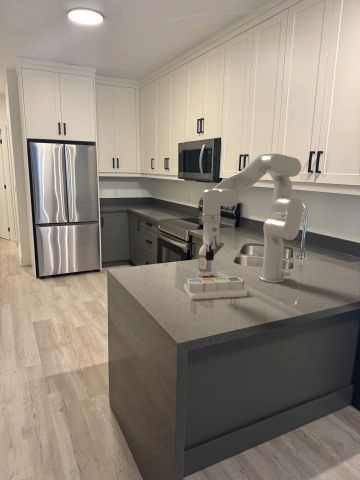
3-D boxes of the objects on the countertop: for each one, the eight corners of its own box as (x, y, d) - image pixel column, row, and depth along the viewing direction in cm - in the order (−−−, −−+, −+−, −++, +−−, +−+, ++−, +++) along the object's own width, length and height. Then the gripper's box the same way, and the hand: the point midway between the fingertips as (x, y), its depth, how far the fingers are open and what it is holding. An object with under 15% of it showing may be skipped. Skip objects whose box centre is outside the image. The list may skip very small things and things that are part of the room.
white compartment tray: (234, 285, 156) (235, 274, 155) (246, 296, 143) (247, 283, 142) (184, 288, 151) (184, 276, 150) (191, 299, 138) (192, 286, 137)
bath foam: (196, 275, 171) (197, 238, 167) (201, 272, 177) (203, 236, 173) (208, 277, 168) (209, 239, 164) (213, 274, 173) (215, 237, 170)
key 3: (211, 283, 148) (211, 279, 148) (214, 286, 144) (214, 282, 144) (202, 283, 147) (202, 280, 147) (205, 287, 143) (205, 283, 143)
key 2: (224, 282, 150) (224, 279, 149) (227, 285, 145) (227, 282, 145) (215, 283, 149) (215, 279, 148) (218, 286, 145) (218, 282, 144)
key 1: (236, 282, 151) (236, 278, 151) (240, 285, 147) (240, 281, 146) (227, 282, 150) (227, 278, 150) (231, 285, 146) (231, 281, 145)
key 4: (199, 284, 147) (199, 280, 147) (201, 287, 143) (201, 283, 143) (189, 284, 146) (189, 280, 146) (192, 287, 142) (192, 283, 142)
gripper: (225, 220, 134) (223, 264, 137) (214, 216, 148) (212, 255, 152) (207, 221, 132) (206, 264, 136) (198, 216, 146) (196, 256, 150)
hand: (209, 259), depth 144 cm, fingers closed
